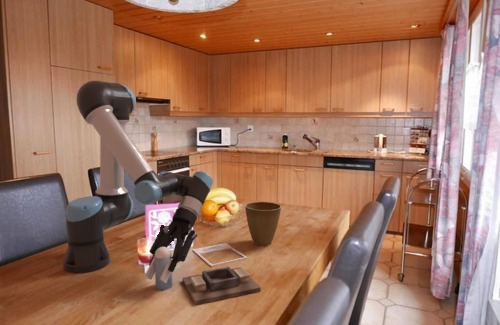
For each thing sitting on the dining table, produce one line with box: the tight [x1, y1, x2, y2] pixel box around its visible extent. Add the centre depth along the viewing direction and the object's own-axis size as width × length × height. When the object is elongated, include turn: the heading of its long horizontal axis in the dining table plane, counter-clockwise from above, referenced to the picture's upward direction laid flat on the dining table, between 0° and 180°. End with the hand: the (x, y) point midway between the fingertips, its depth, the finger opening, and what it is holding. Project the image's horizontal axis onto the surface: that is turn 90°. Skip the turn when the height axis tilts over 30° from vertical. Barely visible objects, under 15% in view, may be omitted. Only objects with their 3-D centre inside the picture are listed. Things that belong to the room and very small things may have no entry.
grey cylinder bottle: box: [154, 247, 173, 291], centre depth 110 cm, size 5×5×12 cm
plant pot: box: [244, 201, 282, 247], centre depth 148 cm, size 15×15×16 cm
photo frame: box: [192, 242, 248, 268], centre depth 136 cm, size 15×1×18 cm
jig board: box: [181, 266, 262, 306], centre depth 110 cm, size 20×16×4 cm
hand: (155, 279), depth 107 cm, fingers closed on grey cylinder bottle, 5 cm apart
